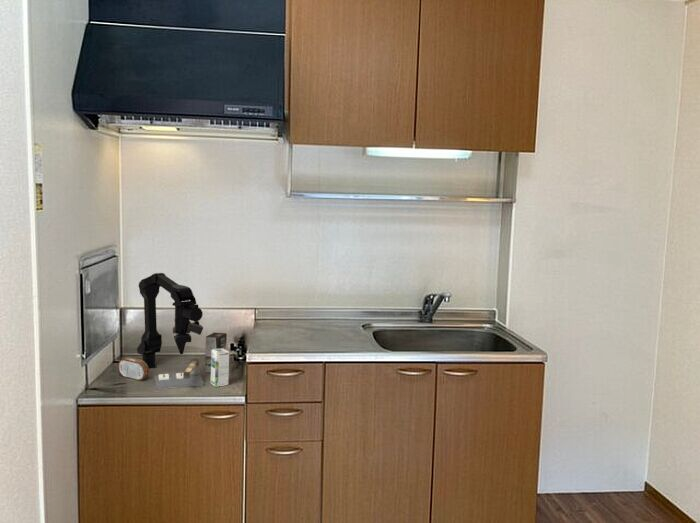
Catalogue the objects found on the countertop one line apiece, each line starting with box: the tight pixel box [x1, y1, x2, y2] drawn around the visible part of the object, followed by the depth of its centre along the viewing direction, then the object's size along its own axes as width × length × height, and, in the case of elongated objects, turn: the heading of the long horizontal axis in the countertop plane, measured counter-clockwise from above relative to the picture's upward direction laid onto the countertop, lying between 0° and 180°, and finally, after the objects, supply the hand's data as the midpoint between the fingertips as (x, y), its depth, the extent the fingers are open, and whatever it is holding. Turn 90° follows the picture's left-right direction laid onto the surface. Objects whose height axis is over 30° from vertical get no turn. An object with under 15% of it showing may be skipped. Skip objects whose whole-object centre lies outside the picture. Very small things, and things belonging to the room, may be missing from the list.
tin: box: [118, 356, 150, 381], centre depth 233 cm, size 15×3×8 cm, turn 65°
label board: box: [154, 366, 204, 389], centre depth 231 cm, size 14×18×5 cm
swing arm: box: [183, 358, 200, 379], centre depth 229 cm, size 20×4×2 cm, turn 5°
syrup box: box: [210, 349, 230, 388], centre depth 230 cm, size 6×6×14 cm
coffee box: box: [204, 332, 228, 373], centre depth 249 cm, size 9×6×16 cm
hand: (181, 353), depth 234 cm, fingers closed
